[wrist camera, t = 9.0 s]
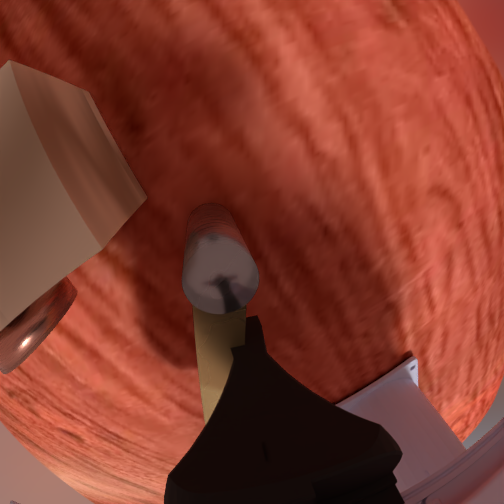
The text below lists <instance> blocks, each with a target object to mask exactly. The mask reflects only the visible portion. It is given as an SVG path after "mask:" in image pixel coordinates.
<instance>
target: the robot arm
mask: <svg viewBox="0 0 504 504" xmlns="http://www.w3.org/2000/svg"><path fill="white" fill-rule="evenodd" d="M230 349H231V352H232V355H233V358H234V359H233V363H232V366H231V369H230V372H229V376H228V379H227V381H226V384H225V387H224V389H223V392H222V394H221V396H220V399H219V401H218V403H217V405H216V407H215V409H214V411H213V413H212V415H211V417H210V418H209V420H208V422H207V424H206V425H205V427H204V429H203V430H202V432H201V433H200V435H199V436H198V438H197V439H196V441H195V442H194V444H193V445H192V447H191V448H190V449H189V451H188V452H187V453H186V454H185V456H184V457H183V458H182V459H181V460H180V462H179V463H178V464H177V465H176V466H175V468H174V469H173V470H172V471H171V472H170V473H169V475H168V478H167V483H166V488H165V495H164V504H504V418H503V419H502V420H500V422H498V423H497V425H495V426H494V427H493V428H492V429H491V430H490V431H489V432H488V433H486V434H485V435H484V436H483V437H482V438H481V439H480V440H478V441H477V442H476V443H475V444H474V445H473V446H471V447H470V448H469V449H467V450H466V448H465V447H464V446H463V444H462V443H461V442H460V440H459V439H458V438H457V436H456V435H455V434H454V432H453V431H452V430H451V428H450V427H449V426H448V424H447V423H446V422H445V420H444V419H443V418H442V417H441V415H440V414H439V413H438V411H437V410H436V409H435V408H434V406H433V405H432V404H431V403H430V401H429V400H428V399H427V398H426V396H425V395H424V394H423V393H422V391H421V390H420V389H419V388H418V360H417V358H416V357H415V356H412V357H410V358H409V359H407V360H406V361H405V362H403V363H402V364H400V365H399V366H397V367H396V368H395V369H393V370H392V371H390V372H389V373H387V374H386V375H384V376H383V377H381V378H380V379H378V380H377V381H375V382H373V383H372V384H370V385H369V386H367V387H365V388H364V389H362V390H361V391H359V392H357V393H355V394H354V395H352V396H350V397H349V398H347V399H345V400H343V401H341V402H340V403H338V404H336V405H334V404H332V403H331V402H329V401H327V400H325V399H324V398H322V397H320V396H319V395H317V394H315V393H314V392H312V391H311V390H309V389H308V388H307V387H305V386H304V385H302V384H301V383H300V382H298V381H297V380H296V379H295V378H293V377H292V376H291V375H290V374H288V373H287V372H286V371H285V370H284V369H283V368H282V367H281V366H280V365H279V364H278V363H277V362H276V361H275V360H274V359H273V358H272V357H271V356H270V355H269V354H268V353H267V350H266V345H265V340H264V336H263V331H262V326H261V323H260V321H259V318H258V316H257V315H256V316H252V317H248V318H246V325H245V345H241V346H237V347H233V348H230ZM10 504H19V503H17V502H14V501H10Z"/></svg>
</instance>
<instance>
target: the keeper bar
mask: <svg viewBox="0 0 504 504" xmlns="http://www.w3.org/2000/svg"><path fill="white" fill-rule="evenodd" d="M258 284H259V272H258V269H257V266H256V264H255V262H254V260H253V258H252V256H251V254H250V252H249V250H248V248H247V246H246V244H245V242H244V239H243V237H242V235H241V233H240V231H239V229H238V227H237V225H236V223H235V221H234V219H233V217H232V215H231V213H230V212H229V211H228V210H227V209H226V208H225V207H223V206H221V205H219V204H214V203H208V204H204V205H201V206H199V207H198V208H196V209H195V210H194V211H193V212H192V214H191V215H190V217H189V220H188V224H187V233H186V241H185V251H184V261H183V271H182V287H183V291H184V293H185V295H186V297H187V299H188V300H189V301H190V302H191V303H192V306H193V319H194V332H195V343H196V354H197V363H198V373H199V381H200V390H201V398H202V405H203V413H204V420H205V425H206V424H207V422H208V420H209V418H210V417H211V415H212V413H213V411H214V409H215V407H216V405H217V403H218V401H219V399H220V396H221V394H222V392H223V389H224V387H225V384H226V381H227V379H228V376H229V372H230V369H231V366H232V363H233V359H234V358H233V355H232V352H231V349H230V348H233V347H237V346H241V345H245V325H246V304H247V303H248V302H249V301H250V300H251V299H252V298H253V296H254V295H255V293H256V291H257V288H258Z"/></svg>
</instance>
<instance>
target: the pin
mask: <svg viewBox="0 0 504 504" xmlns="http://www.w3.org/2000/svg"><path fill="white" fill-rule="evenodd" d="M76 296H77V290H76V288H75V287H74V286H73V284H72V283H71V282H70V280H69V279H68V278H67V276H65V277H64V278H63V279H62V280H60V281H59V282H58V283H56V284H55V285H54V286H53V287H51V288H50V289H49V290H48V291H46V292H45V293H44V294H43V295H42V296H40V297H39V298H38V299H37V300H35V301H34V302H33V303H32V304H31V305H29V306H28V307H27V308H26V309H25V310H24V311H22V312H21V313H20V314H19V315H18V316H17V317H16V318H14V319H13V320H12V321H11V322H10V323H9V324H8V325H7V326H6V327H4V328H3V329H2V330H1V331H0V371H1V372H2V373H3V374H7V373H9V372H11V371H13V370H14V369H15V368H16V367H18V366H19V365H20V364H21V363H22V362H23V361H24V360H25V359H26V358H27V357H28V356H30V354H31V353H32V352H33V351H34V350H35V349H36V348H37V347H38V346H39V345H40V344H41V343H42V342H43V340H44V339H45V338H46V337H47V336H48V335H49V334H50V332H51V331H52V330H53V329H54V328H55V326H56V325H57V324H58V323H59V321H60V320H61V319H62V318H63V316H64V315H65V314H66V312H67V311H68V309H69V308H70V306H71V305H72V303H73V302H74V300H75V298H76Z"/></svg>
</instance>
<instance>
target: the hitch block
mask: <svg viewBox="0 0 504 504" xmlns="http://www.w3.org/2000/svg"><path fill="white" fill-rule="evenodd" d="M147 198H148V197H147V196H146V194H145V192H144V191H143V189H142V187H141V186H140V184H139V182H138V181H137V179H136V177H135V176H134V174H133V172H132V170H131V169H130V167H129V165H128V164H127V162H126V160H125V158H124V157H123V155H122V153H121V151H120V149H119V148H118V146H117V144H116V142H115V140H114V139H113V137H112V135H111V133H110V131H109V129H108V128H107V126H106V124H105V122H104V120H103V118H102V116H101V114H100V112H99V111H98V109H97V107H96V105H95V103H94V101H93V99H92V97H91V95H90V93H89V92H88V91H86V90H84V89H81V88H79V87H77V86H75V85H72V84H70V83H68V82H65V81H63V80H61V79H58V78H56V77H53V76H51V75H48V74H46V73H43V72H41V71H38V70H36V69H33V68H31V67H28V66H25V65H23V64H20V63H17V62H14V61H12V60H8V61H7V62H6V63H5V64H4V65H3V67H2V68H1V69H0V331H1V330H2V329H3V328H4V327H6V326H7V325H8V324H9V323H10V322H11V321H12V320H13V319H14V318H16V317H17V316H18V315H19V314H20V313H21V312H22V311H24V310H25V309H26V308H27V307H28V306H29V305H31V304H32V303H33V302H34V301H35V300H37V299H38V298H39V297H40V296H42V295H43V294H44V293H45V292H46V291H48V290H49V289H50V288H51V287H53V286H54V285H55V284H56V283H58V282H59V281H60V280H62V279H63V278H64V277H65V276H67V275H68V274H69V273H71V272H72V271H73V270H75V269H76V268H77V267H79V266H80V265H81V264H83V263H84V262H86V261H87V260H88V259H90V258H91V257H92V256H94V255H95V254H97V253H98V252H99V251H101V250H102V249H103V248H104V247H105V246H106V245H107V243H108V242H109V241H110V240H111V239H112V237H113V236H114V235H115V234H116V233H117V231H118V230H119V229H120V228H121V227H122V226H123V225H124V223H125V222H126V221H127V220H128V219H129V218H130V217H131V216H132V214H133V213H134V212H135V211H136V210H137V209H138V208H139V207H140V206H141V205H142V204H143V202H144V201H145V200H146V199H147Z"/></svg>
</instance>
